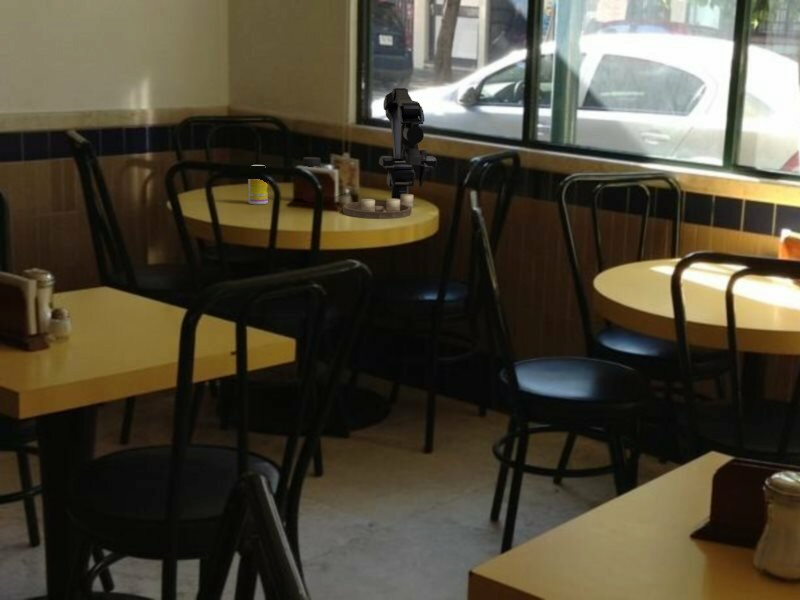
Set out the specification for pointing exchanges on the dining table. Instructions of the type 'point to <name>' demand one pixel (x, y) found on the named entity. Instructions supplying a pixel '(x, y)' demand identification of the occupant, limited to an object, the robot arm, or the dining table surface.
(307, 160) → the deodorant
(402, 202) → the loose bead
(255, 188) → the supplement bottle
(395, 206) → the bead
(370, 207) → the bead
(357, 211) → the tray
